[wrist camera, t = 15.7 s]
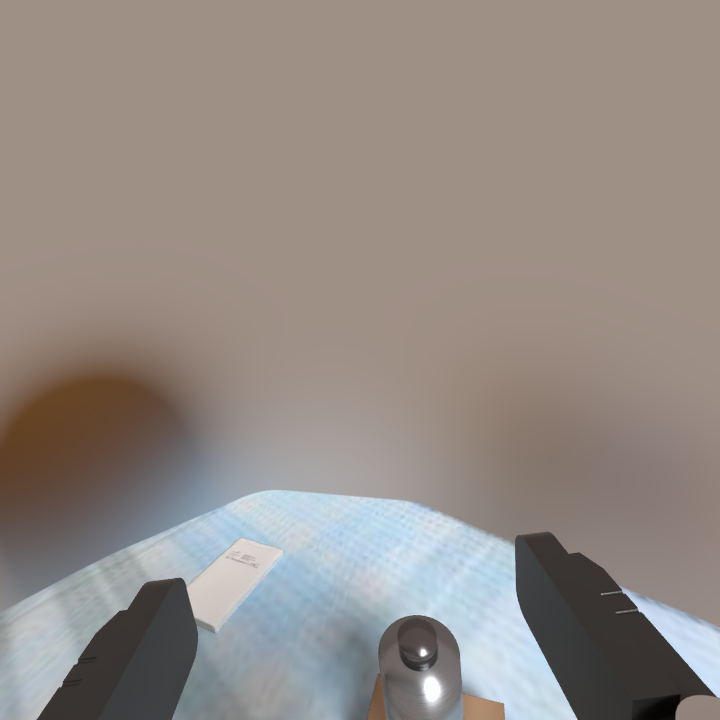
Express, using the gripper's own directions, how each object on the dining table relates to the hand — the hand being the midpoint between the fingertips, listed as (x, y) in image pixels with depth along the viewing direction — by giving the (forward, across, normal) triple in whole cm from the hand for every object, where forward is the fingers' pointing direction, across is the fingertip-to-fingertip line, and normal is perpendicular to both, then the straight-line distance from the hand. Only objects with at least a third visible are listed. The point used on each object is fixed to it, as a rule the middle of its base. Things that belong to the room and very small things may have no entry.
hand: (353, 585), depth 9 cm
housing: (+11, -2, +26) cm, 28 cm away
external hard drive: (+34, +19, +31) cm, 50 cm away
